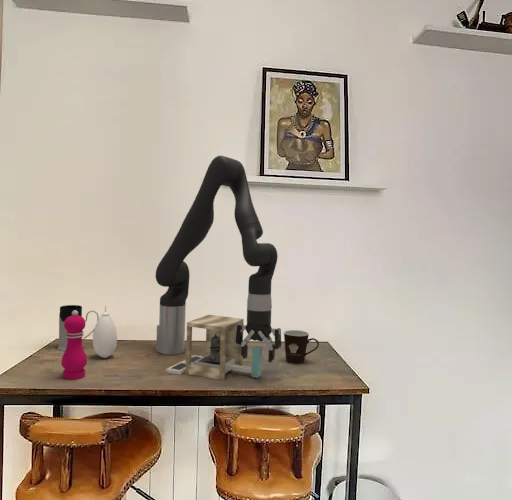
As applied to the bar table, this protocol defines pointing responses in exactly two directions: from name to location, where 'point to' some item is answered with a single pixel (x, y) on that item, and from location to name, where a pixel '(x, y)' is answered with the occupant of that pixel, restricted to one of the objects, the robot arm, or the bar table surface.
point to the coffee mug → (296, 346)
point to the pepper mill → (74, 348)
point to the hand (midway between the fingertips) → (257, 359)
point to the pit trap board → (181, 366)
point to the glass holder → (64, 313)
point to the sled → (231, 365)
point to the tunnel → (228, 347)
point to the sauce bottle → (105, 336)
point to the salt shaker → (214, 351)
